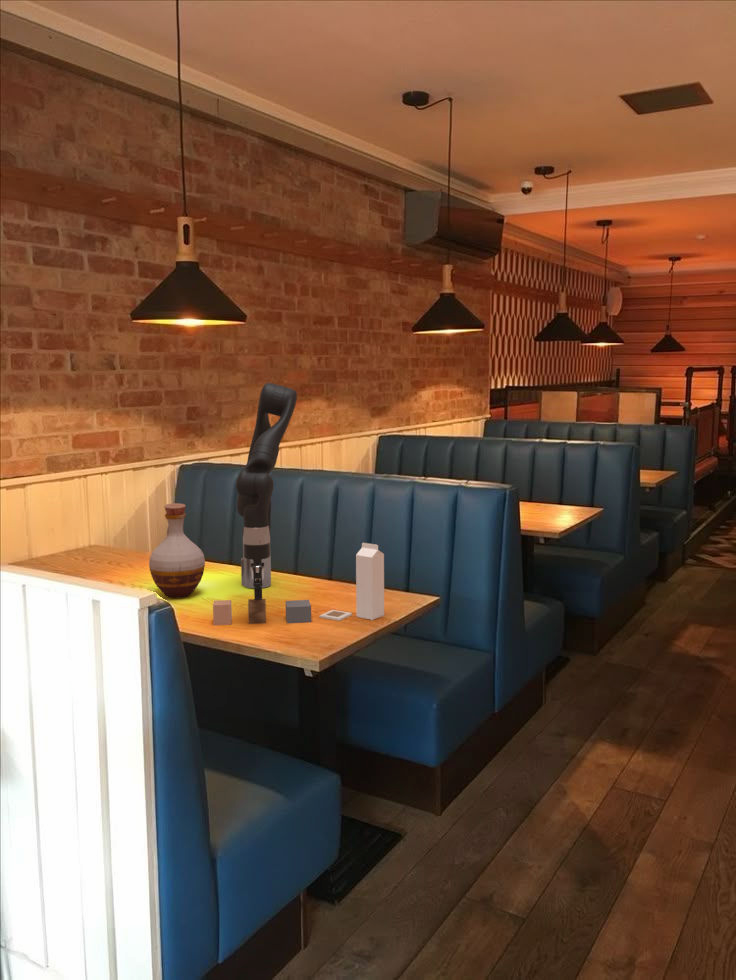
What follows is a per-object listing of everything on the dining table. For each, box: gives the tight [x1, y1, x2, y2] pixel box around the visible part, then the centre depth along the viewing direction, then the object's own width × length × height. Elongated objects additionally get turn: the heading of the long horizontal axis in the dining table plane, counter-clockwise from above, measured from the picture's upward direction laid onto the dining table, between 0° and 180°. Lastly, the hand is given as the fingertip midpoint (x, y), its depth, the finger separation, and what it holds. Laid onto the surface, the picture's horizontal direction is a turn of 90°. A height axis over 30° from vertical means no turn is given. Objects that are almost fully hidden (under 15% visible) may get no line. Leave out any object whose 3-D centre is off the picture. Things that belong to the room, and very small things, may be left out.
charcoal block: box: [284, 599, 312, 624], centre depth 245 cm, size 7×7×5 cm
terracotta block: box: [212, 599, 233, 626], centre depth 242 cm, size 5×5×6 cm
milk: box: [355, 542, 385, 621], centre depth 246 cm, size 6×6×22 cm
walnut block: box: [247, 598, 267, 625], centre depth 243 cm, size 5×5×6 cm
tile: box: [319, 609, 353, 622], centre depth 248 cm, size 7×7×1 cm
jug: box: [148, 502, 206, 599], centre depth 272 cm, size 20×18×30 cm
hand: (258, 596), depth 243 cm, fingers open, 8 cm apart
